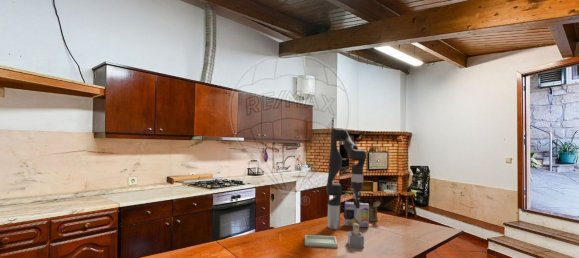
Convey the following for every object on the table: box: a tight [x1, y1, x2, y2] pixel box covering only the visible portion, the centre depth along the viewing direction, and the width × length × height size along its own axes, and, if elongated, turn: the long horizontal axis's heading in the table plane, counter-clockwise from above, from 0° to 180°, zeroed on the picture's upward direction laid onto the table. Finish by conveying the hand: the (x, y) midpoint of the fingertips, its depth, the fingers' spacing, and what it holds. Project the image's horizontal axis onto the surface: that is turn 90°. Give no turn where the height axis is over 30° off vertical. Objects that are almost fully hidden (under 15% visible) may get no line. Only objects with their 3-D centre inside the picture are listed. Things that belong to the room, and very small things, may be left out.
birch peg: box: [352, 223, 360, 235], centre depth 187 cm, size 4×4×13 cm
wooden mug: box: [369, 200, 381, 223], centre depth 245 cm, size 9×14×18 cm, turn 13°
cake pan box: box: [343, 201, 370, 228], centre depth 229 cm, size 19×5×18 cm, turn 73°
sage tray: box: [304, 234, 338, 249], centre depth 188 cm, size 14×20×2 cm
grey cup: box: [347, 230, 365, 249], centre depth 187 cm, size 9×9×7 cm
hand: (356, 206), depth 188 cm, fingers open, 8 cm apart
